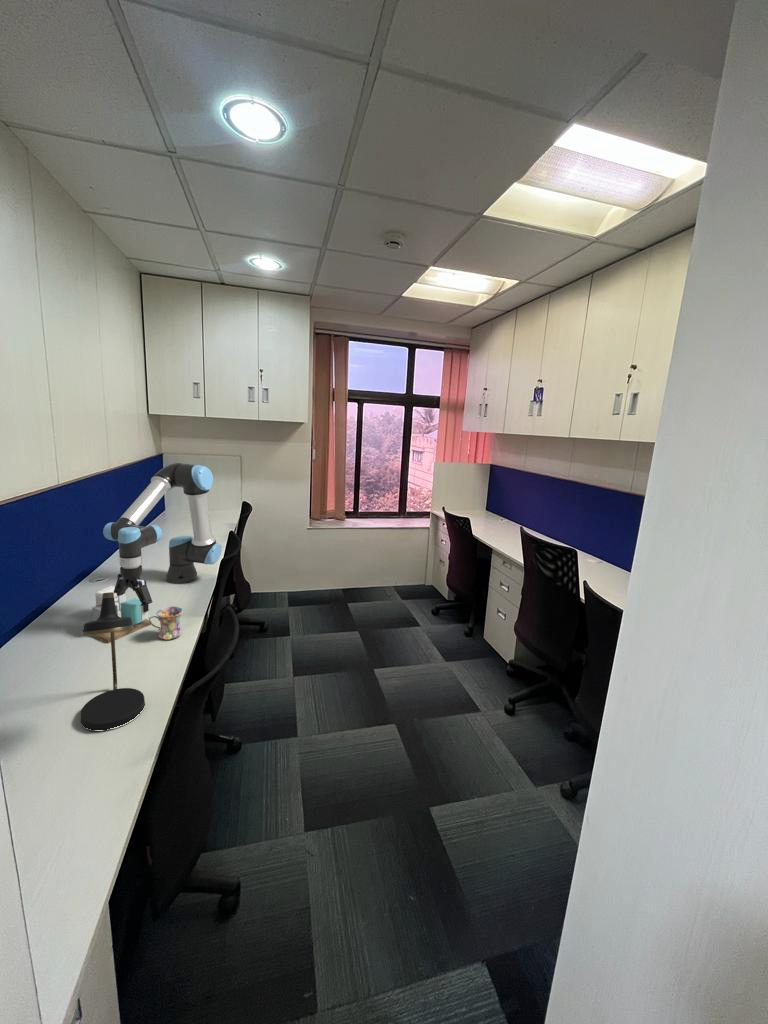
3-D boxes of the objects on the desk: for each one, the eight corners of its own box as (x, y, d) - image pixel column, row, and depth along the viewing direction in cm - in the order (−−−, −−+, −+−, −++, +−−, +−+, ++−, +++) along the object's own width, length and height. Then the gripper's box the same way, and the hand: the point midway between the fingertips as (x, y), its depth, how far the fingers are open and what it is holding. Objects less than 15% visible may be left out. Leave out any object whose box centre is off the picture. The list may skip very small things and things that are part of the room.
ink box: (106, 620, 173) (104, 594, 171) (96, 618, 174) (94, 592, 171) (122, 611, 181) (121, 586, 179) (113, 609, 182) (111, 585, 180)
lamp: (76, 741, 111) (66, 610, 103) (85, 694, 129) (76, 579, 121) (145, 724, 119) (140, 601, 111) (144, 681, 137) (139, 573, 129)
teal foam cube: (135, 616, 173) (134, 598, 172) (145, 620, 171) (144, 601, 169) (121, 621, 168) (120, 603, 166) (131, 625, 166) (130, 607, 164)
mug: (183, 628, 172) (182, 605, 170) (182, 639, 164) (182, 615, 162) (150, 632, 167) (149, 608, 165) (148, 644, 159) (147, 619, 156)
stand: (132, 616, 178) (131, 593, 175) (151, 624, 173) (150, 600, 171) (88, 634, 162) (86, 609, 159) (108, 643, 157) (106, 617, 155)
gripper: (101, 561, 166) (105, 609, 171) (143, 575, 156) (145, 626, 161) (119, 556, 173) (122, 603, 177) (161, 569, 163) (162, 618, 168)
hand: (133, 614), depth 169 cm, fingers open, 13 cm apart
